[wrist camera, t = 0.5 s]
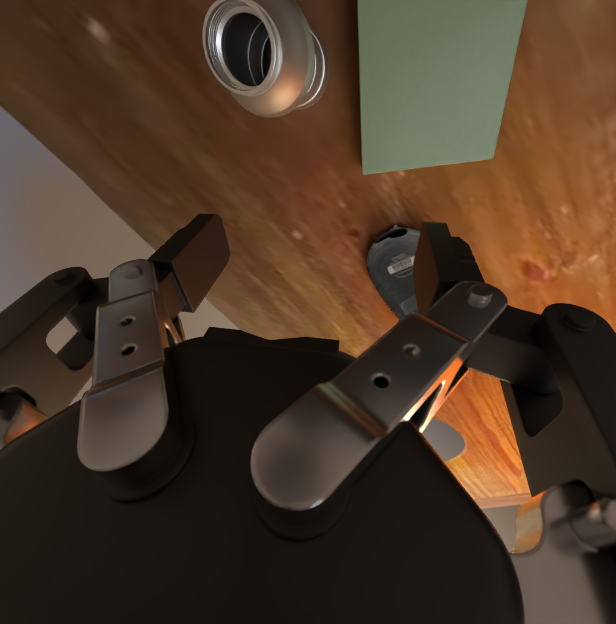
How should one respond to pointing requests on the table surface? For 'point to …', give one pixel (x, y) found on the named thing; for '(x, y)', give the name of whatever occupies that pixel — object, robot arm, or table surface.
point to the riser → (433, 79)
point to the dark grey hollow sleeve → (395, 268)
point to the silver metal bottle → (266, 55)
